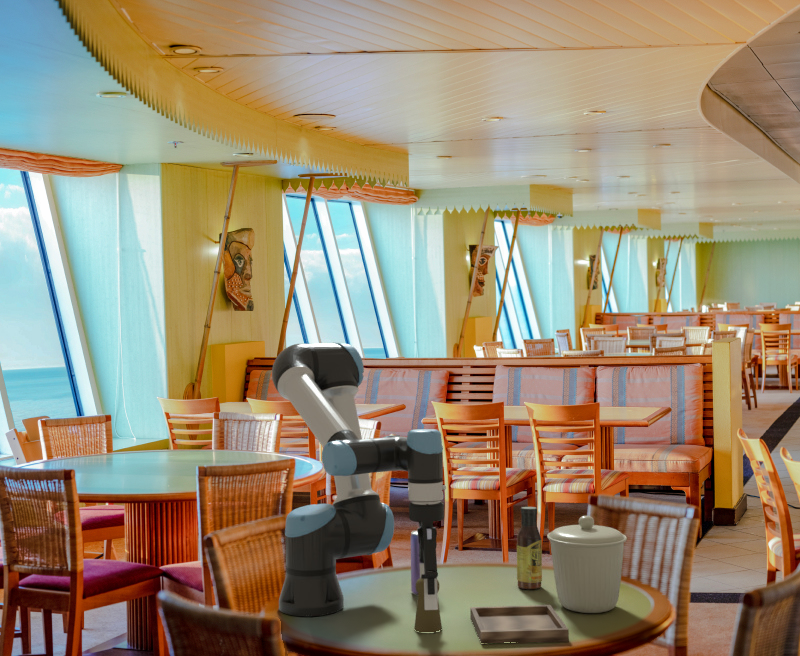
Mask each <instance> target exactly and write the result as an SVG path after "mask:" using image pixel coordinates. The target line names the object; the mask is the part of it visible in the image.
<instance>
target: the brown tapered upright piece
mask: <svg viewBox="0 0 800 656" xmlns="http://www.w3.org/2000/svg"><path fill="white" fill-rule="evenodd" d="M415 586H416V591H417V593H418V596H417V602H416V603H417V604H416V611H415V620H414V621H415V622H414V629H415V630H416V631H419V632H436V631H439V630H441V629H442V630H443V627H442V621H441V620H442V619H441V612H440V605H439V603H438V610H425V605H424V579H421V578H419V579H418V580H417V581H416V585H415ZM439 591H440V582H439V580H438V579H437V594H438V593H439ZM415 630H414V631H415ZM416 631H415V632H416Z"/></svg>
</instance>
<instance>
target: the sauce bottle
mask: <svg viewBox="0 0 800 656" xmlns="http://www.w3.org/2000/svg"><path fill="white" fill-rule="evenodd" d="M537 514H538V508H537V507H535V506H521V507H520V515H521V527H520V529H519V530H518V532H517V535H516V542H517V543H516V580H517V586H518V588H519V589H524V590H537V589H540V588H541V587H542V581H543V567H542V566H543V560H542V559H543V555H542V554H543V551H542V549H543V545H542V544H543V543H542V542H543V541H542V539H543V538H542V537H541V534H540V531H539V528H538V524H537Z"/></svg>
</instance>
